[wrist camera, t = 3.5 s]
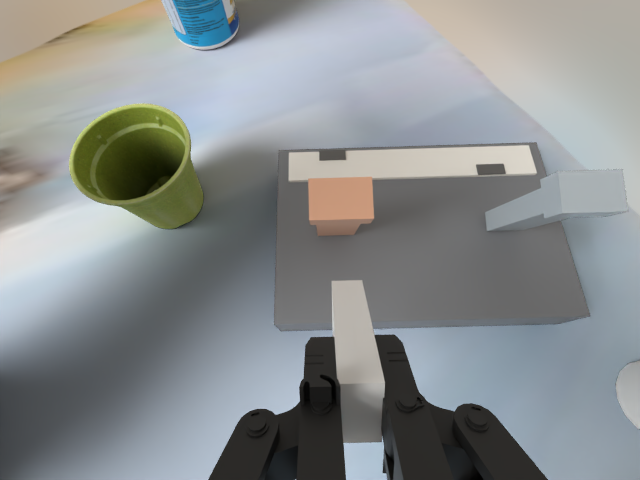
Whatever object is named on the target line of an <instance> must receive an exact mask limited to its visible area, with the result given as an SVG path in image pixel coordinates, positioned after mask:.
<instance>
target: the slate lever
mask: <svg viewBox="0 0 640 480" xmlns="http://www.w3.org/2000/svg"><path fill="white" fill-rule="evenodd" d="M540 182H541V188H540V189H537V190H535V191H533V192H530V193H528V194H526V195H524V196H521V197H519V198H517V199H514V200H512V201H510V202H507V203H505V204H503V205H501V206H498V207H496V208H494V209H491V210H489V211H487V212H485V216H486V228H487V231H510V230H526V229H529V228H533V227H537V226H541V225H545V224H549V223H552V222H556V221H560V220H564V219H568V218H579V217H606V216H610V215H615V214H619V213H623V212H628V206H627V198H626V191H625V184H624V176H623V170H622V169H613V170H579V171H557V172H555V173H553V174H551V175H549V176H547V177H544V178H542V179H540Z"/></svg>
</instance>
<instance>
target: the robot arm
mask: <svg viewBox="0 0 640 480" xmlns="http://www.w3.org/2000/svg"><path fill="white" fill-rule="evenodd" d="M332 329H333V337H311V338H310V340H309V341H308V343H307V344H306V346H305V365H304V379H303V380H302V381H301V384H300V387H299V390H300V402H299V403H298V404H297V405H296V407H294V408H293V409H291V410H289V411H287V412H285V413H281V414H278V415H275V414H274V413H273V412H272V411H269V410H267V409H256V410H253V411H250V412H248V413H247V414H245V415H244V416H243V417H242V418H241V419H240V421H239V422H238V424H237V425H236V427H235V429H234V431H233V433H232V435H231V437H230V439H229V441H228V443H227V445H226V447H225V449H224V451H223V452H222V454H221V456H220V458H219V460H218V462H217V464H216V466H215V468H214V470H213V472H212V474H211V476H210V477H209V479H208V480H295V479H296V480H346V475H345V460H344V446H343V443H361V442H382V436H383V442H384V459H383V473H386V474H387V480H548V479H547V478H546V477H545V476H544V474H543V473H542V472H541V471H540V470H539V468H538V467H537V466H536V465H535V464H534V462H533V461H532V460H531V459H530V458H529V456H528V455H527V454H526V453H525V451H524V450H523V449H522V448H521V447H520V445H519V444H518V443H517V442H516V441H515V439H514V438H513V437H512V436H511V435H510V433H509V432H508V431H507V430H506V429H505V427H504V426H503V425H502V424H501V423H500V421H499V420H498V419H497V418H496V416H494V415H493V414H492V413H491V412H490V411H489V410H488V409H486V408H484V407H482V406H480V405H476V404H472V403H471V404H463V405H461V406H458V407H457V409H456V410H455V412H454V411H450V410H446V409H442V408H439V407H436V406H434V405H432V404H430V403H428V402H427V401H426V400H425V398H424V397H423V396H422V395H421V394H420V393H419V391H418V389H417V386H416V383H415V380H414V377H413V374H412V371H411V368H410V364H409V362H408V358H407V355H406V353H405V349H404V346H403V343H402V342H401V341H400V340H399V339H398V338H397V337H396V336H395V335H374V331H373V327H372V322H371V318H370V313H369V309H368V305H367V300H366V296H365V291H364V287H363V282H362V280H346V281H332Z"/></svg>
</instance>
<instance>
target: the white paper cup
mask: <svg viewBox="0 0 640 480" xmlns="http://www.w3.org/2000/svg"><path fill="white" fill-rule="evenodd" d="M615 385H616V393H617V400H618V402H619V404H620V406H621V408H622V410H623V412H624V414H625V415H626V417H627V418H628V419H629V420H630V421H631V422H632V423H633V424H634V425H635V426H636V427H637V428H638V429H640V361H636V362H632V363H628V364H627V365H626V366H625V367H624V368H623V369H622V370H621V371H620V372H619V374H618V378H617V381H616V384H615Z"/></svg>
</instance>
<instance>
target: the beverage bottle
mask: <svg viewBox="0 0 640 480" xmlns="http://www.w3.org/2000/svg"><path fill="white" fill-rule="evenodd" d="M161 1H162V3H163V5H164V7H165V10H166V12H167V14H168V17H169V19H170V21H171V23H172V26H173V29H174V31H175V33H176V35H177V37H178V39H179V40H180V41H181V42H182V43H183V44H185V45H187V46H189V47H191V48H194V49H200V50H207V49H214V48H217V47H220V46H222V45H224V44H226V43H228V42H229V41H230V40H231V39H232V38H233V37H234V36H235V35H236V33H237V31H238V28H239V17H238V13H237V10H236V7H235V3H234V0H161Z"/></svg>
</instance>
